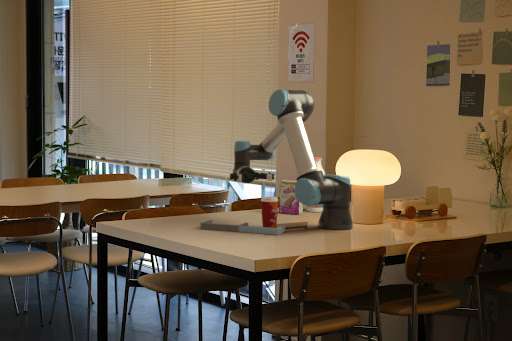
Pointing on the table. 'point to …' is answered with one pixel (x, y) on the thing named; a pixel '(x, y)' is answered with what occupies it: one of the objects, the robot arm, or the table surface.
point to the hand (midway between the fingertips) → (255, 177)
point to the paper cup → (269, 211)
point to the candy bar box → (289, 199)
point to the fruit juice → (318, 162)
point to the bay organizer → (242, 228)
